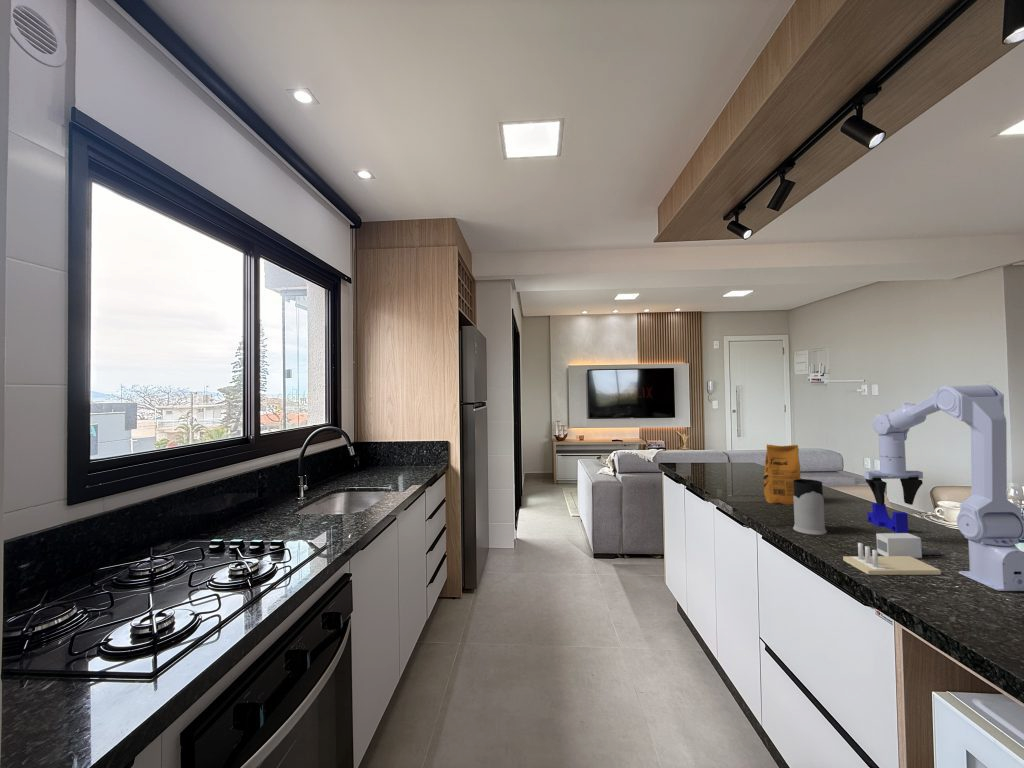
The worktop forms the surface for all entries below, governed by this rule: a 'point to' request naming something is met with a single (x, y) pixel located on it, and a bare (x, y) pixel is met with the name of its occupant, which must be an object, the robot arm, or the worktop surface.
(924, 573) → the board
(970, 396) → the robot arm
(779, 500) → the coffee package
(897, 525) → the cable clip
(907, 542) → the plug housing
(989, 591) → the worktop surface
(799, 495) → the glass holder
